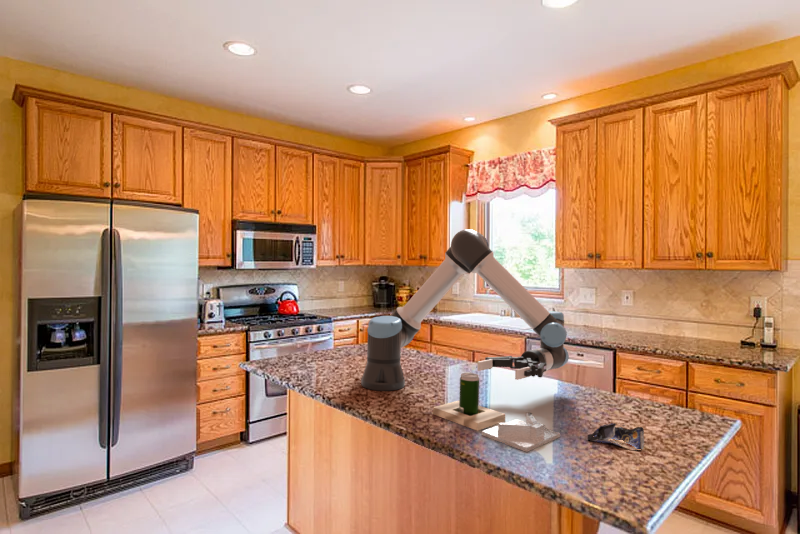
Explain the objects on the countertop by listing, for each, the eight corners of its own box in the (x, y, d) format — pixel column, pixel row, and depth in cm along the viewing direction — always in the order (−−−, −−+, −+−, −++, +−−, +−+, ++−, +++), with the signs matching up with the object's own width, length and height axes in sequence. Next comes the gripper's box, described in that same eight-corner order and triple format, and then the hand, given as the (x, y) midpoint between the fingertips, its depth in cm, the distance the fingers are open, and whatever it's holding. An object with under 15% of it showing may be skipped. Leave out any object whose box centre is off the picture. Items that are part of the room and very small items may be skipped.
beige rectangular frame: (432, 414, 130) (433, 407, 130) (460, 406, 138) (460, 399, 138) (477, 430, 118) (477, 423, 118) (505, 421, 126) (505, 413, 126)
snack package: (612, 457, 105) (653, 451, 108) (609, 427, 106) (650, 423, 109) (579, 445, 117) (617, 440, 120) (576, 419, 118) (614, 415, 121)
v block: (481, 435, 115) (482, 419, 115) (516, 422, 125) (516, 408, 125) (526, 452, 105) (527, 434, 105) (560, 437, 115) (560, 421, 115)
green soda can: (467, 422, 124) (469, 378, 124) (454, 416, 129) (456, 373, 128) (482, 419, 127) (483, 376, 127) (469, 413, 131) (470, 371, 131)
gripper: (571, 380, 140) (533, 392, 126) (503, 365, 158) (464, 375, 144) (572, 355, 140) (534, 365, 126) (504, 344, 158) (464, 351, 144)
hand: (496, 370), depth 135 cm, fingers open, 13 cm apart
